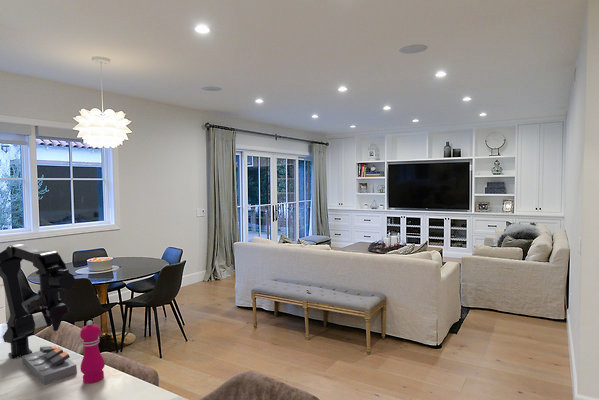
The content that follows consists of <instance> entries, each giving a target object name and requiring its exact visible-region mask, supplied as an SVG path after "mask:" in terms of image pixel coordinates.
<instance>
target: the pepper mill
mask: <svg viewBox="0 0 599 400" xmlns="http://www.w3.org/2000/svg"><path fill="white" fill-rule="evenodd" d="M93 323H94V322H93V320H88V321H86V325H84V326H83V327H82V328H81V329H80V331H79V332H80V333H79V336H80V339H81V340H82V346H83V349H84V354H83V357H82V360H81V363H80V372H81V373H82V374H83V375H82V382H83V383H85V384H93V383H97V382H99V381H101V380H102V379H103V378H104V377H105V374H104V372H105V371H104V368H105V365H106V364H105V359H104V357H103V355H102V354H101V352H100V349H99V343H100V337H99V336H100V335H101V328H100V327H99V325H97V324H96V323H94V324H93Z"/></svg>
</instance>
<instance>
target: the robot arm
mask: <svg viewBox="0 0 599 400" xmlns="http://www.w3.org/2000/svg"><path fill="white" fill-rule="evenodd" d="M23 260H25V261H27V262H29V263H30V262H31V264H32V266H33V267H34V268H36V269H37V271H36V272H35V275H38V276H39V290H38V291H37V295H35V296H32V297H31V298H28V299H26V300H24V298H23V293H22V289H21V285H20V284H21V283H20V280H19V272H20V270H21V267H22V265H21V262H22V261H23ZM0 278H1V279H2V282H3V283H2V284H3V287H4V292H5V296H6V301H7V306H8V309H9V314H10V315H9V318H8V320H7V322H6V331H5V332H4V334H3V336H2V339H3V342H4V343H8V344H10V352H9V353H8V354H7V355H8V356H9V357H10V358H11V359H13V360H14V359H17V358H20V357H21V358H22V356H24V355H27V354H31V353H33V350H31V349H30V344H29V343H30V342H29V337H31V336H34V335H35V329H36V321H35V320H34V319H35V318H34V315H33V314H32V312H34V311H35V310H37V311H38V312H40V313H41V314H42V315H43V318H44V320H45V323H46V326H47V327H48V328H49V327H52V330H53V332H58V330H59V328H60V326H61V323H62V321H63V319H64V317H65V315H66V314H67V313H69V312H70V306H69V305H67V304H65V303H63V302H62V299H61V298H60V293H61V291H62V290H69V289H71V288H72V287H73V286H74V284H75V283H76V282H75V281H76V278H75V276H74V274H73V273H70V270H69V269H68V268H67V266H66V263H65V261H64V260H63V258H62V257H61V255H60V254H59V252H58V251H55V250H40V249H37V248H32V247H30V246H27V245H25V244H23V243H16V244H10V245H9V246H7V247H6V248H5V249H4V250H2V251H1V252H0Z"/></svg>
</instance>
